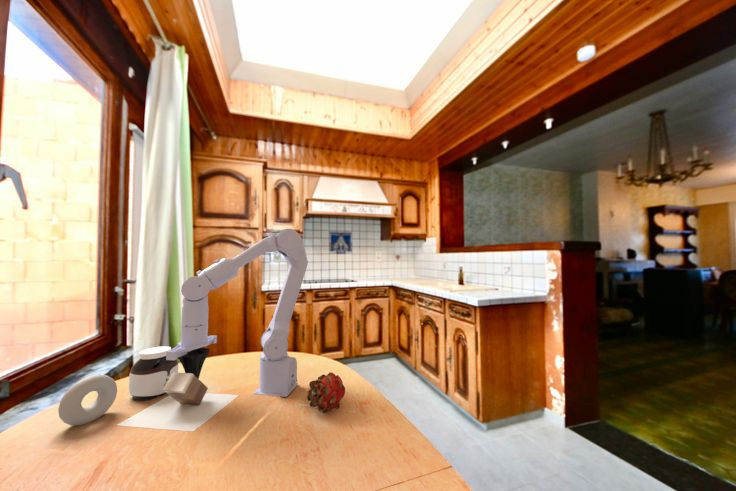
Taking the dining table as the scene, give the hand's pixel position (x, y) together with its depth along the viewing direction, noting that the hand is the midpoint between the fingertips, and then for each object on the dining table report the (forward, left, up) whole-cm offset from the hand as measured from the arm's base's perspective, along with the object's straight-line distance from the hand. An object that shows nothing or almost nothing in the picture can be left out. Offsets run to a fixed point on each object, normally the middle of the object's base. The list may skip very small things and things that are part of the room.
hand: (192, 380), depth 70 cm
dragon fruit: (-33, -3, -6) cm, 34 cm away
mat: (0, +3, -6) cm, 6 cm away
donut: (+17, +10, -6) cm, 20 cm away
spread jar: (+16, -5, -6) cm, 18 cm away
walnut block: (0, -1, -4) cm, 4 cm away
